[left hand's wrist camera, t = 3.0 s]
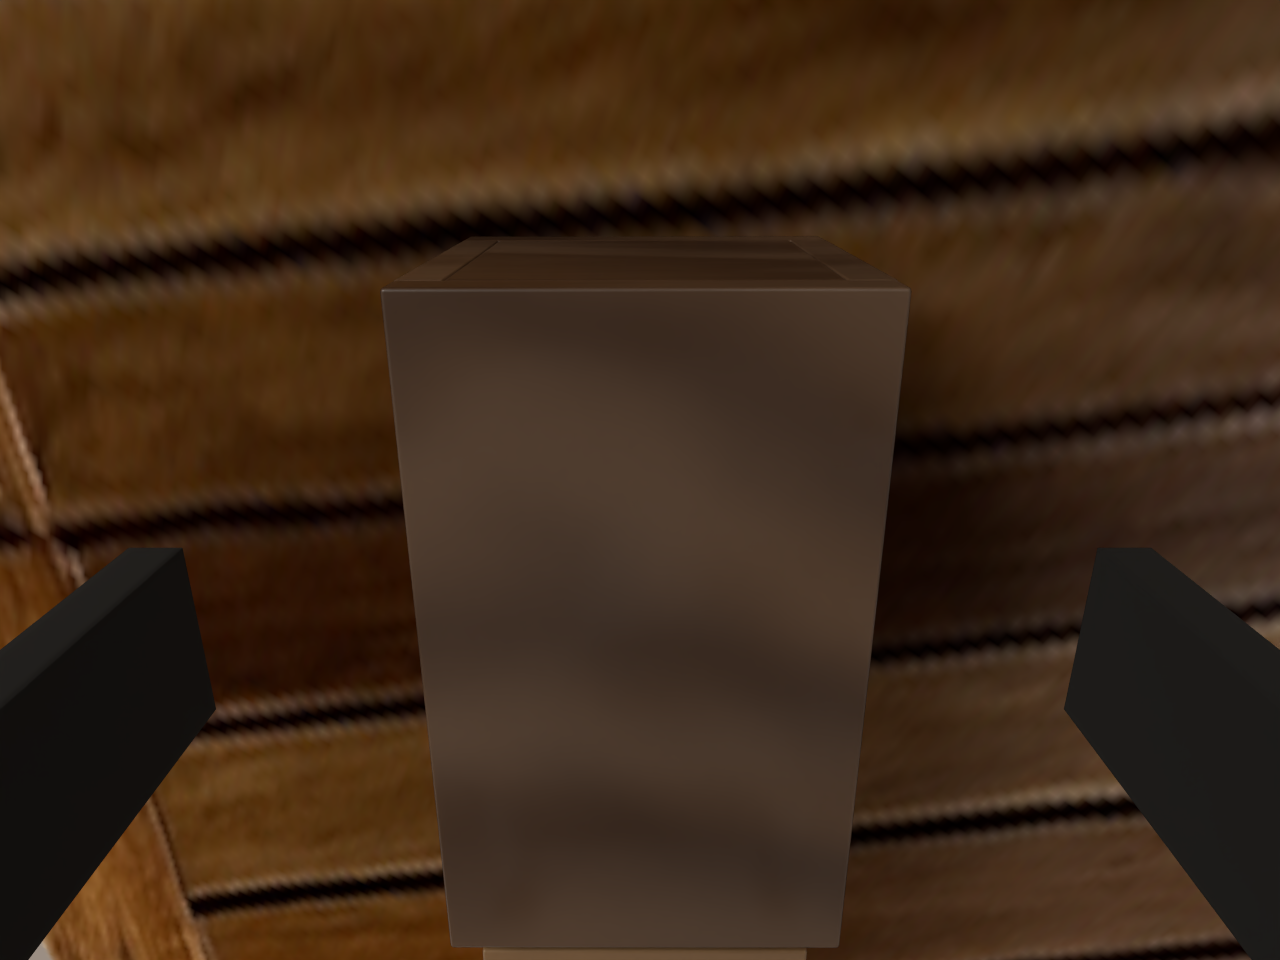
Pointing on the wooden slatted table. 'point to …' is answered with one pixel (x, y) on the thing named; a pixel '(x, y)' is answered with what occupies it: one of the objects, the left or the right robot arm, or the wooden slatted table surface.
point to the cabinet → (645, 577)
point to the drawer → (642, 953)
